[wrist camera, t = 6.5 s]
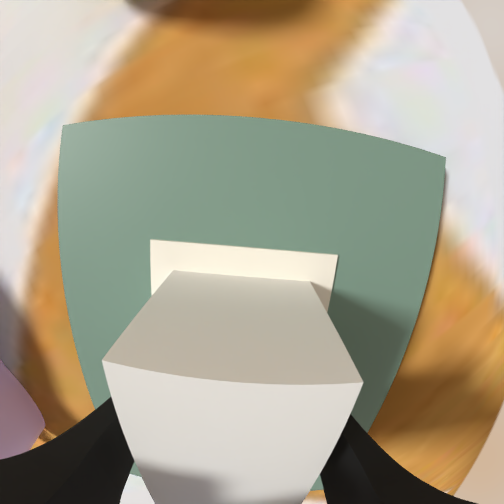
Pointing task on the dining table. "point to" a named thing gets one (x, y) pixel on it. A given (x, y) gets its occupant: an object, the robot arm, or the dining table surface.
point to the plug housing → (231, 389)
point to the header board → (247, 227)
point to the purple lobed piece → (17, 416)
